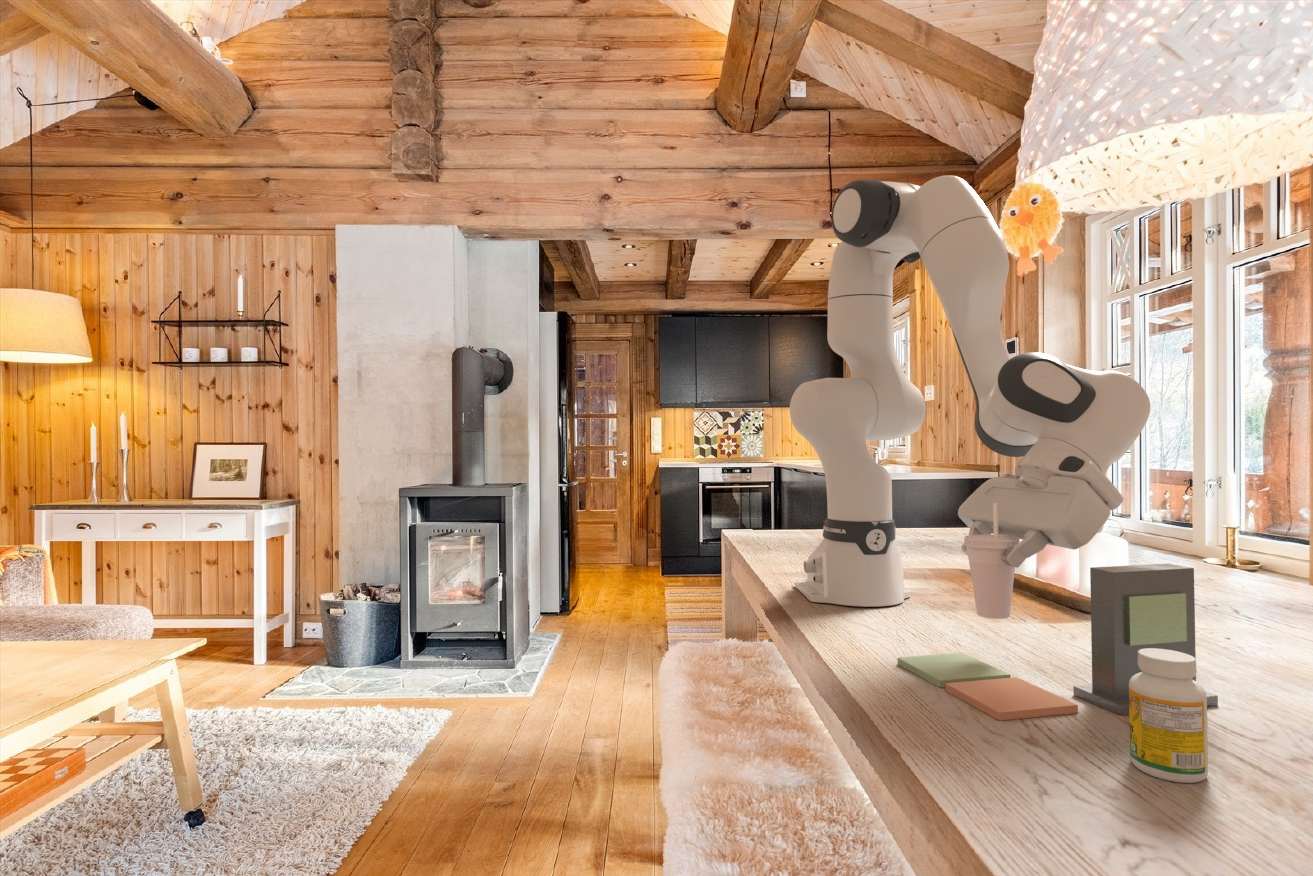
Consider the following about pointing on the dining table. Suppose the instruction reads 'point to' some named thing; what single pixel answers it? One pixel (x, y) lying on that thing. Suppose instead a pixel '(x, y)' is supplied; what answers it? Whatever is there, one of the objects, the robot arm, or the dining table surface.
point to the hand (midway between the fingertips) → (987, 558)
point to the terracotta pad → (1010, 698)
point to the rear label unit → (1136, 626)
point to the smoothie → (991, 571)
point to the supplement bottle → (1168, 717)
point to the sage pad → (950, 668)
